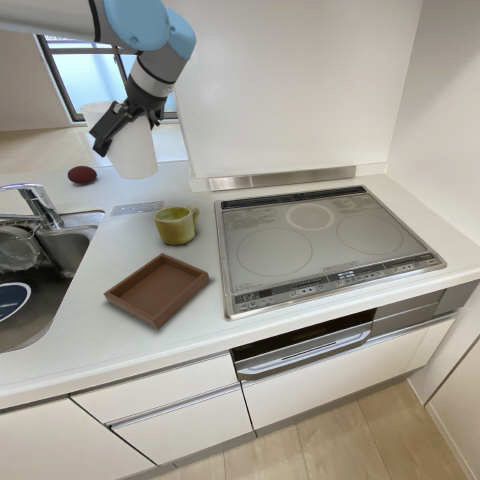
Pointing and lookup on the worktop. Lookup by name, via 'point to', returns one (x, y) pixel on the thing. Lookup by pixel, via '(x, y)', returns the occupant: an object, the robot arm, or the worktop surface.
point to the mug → (176, 224)
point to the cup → (127, 143)
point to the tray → (158, 289)
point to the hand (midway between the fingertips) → (121, 144)
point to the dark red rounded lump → (82, 174)
